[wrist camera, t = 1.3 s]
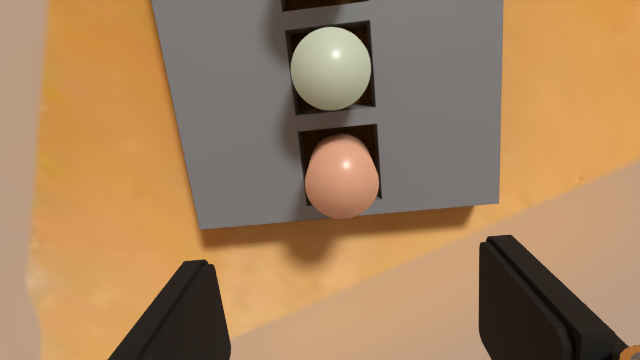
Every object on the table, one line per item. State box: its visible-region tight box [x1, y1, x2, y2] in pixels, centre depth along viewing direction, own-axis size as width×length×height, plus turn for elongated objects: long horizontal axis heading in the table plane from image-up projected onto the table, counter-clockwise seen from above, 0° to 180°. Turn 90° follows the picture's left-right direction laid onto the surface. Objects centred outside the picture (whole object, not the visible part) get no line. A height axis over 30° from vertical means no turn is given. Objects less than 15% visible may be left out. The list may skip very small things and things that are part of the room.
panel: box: [151, 0, 503, 230], centre depth 24 cm, size 20×19×3 cm
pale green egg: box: [291, 27, 371, 110], centre depth 21 cm, size 4×4×5 cm
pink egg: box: [305, 133, 379, 219], centre depth 23 cm, size 4×4×5 cm
